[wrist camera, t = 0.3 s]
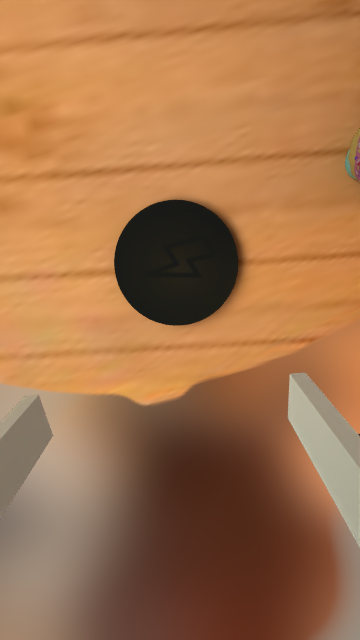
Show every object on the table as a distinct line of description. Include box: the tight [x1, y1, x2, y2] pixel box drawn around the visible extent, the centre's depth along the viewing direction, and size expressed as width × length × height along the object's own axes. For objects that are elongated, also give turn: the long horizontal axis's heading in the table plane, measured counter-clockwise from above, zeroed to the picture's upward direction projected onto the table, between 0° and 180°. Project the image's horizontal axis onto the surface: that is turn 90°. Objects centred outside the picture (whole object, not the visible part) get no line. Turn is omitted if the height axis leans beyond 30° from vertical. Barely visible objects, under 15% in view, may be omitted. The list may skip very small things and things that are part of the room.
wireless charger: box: [114, 200, 238, 325], centre depth 37 cm, size 18×18×2 cm
